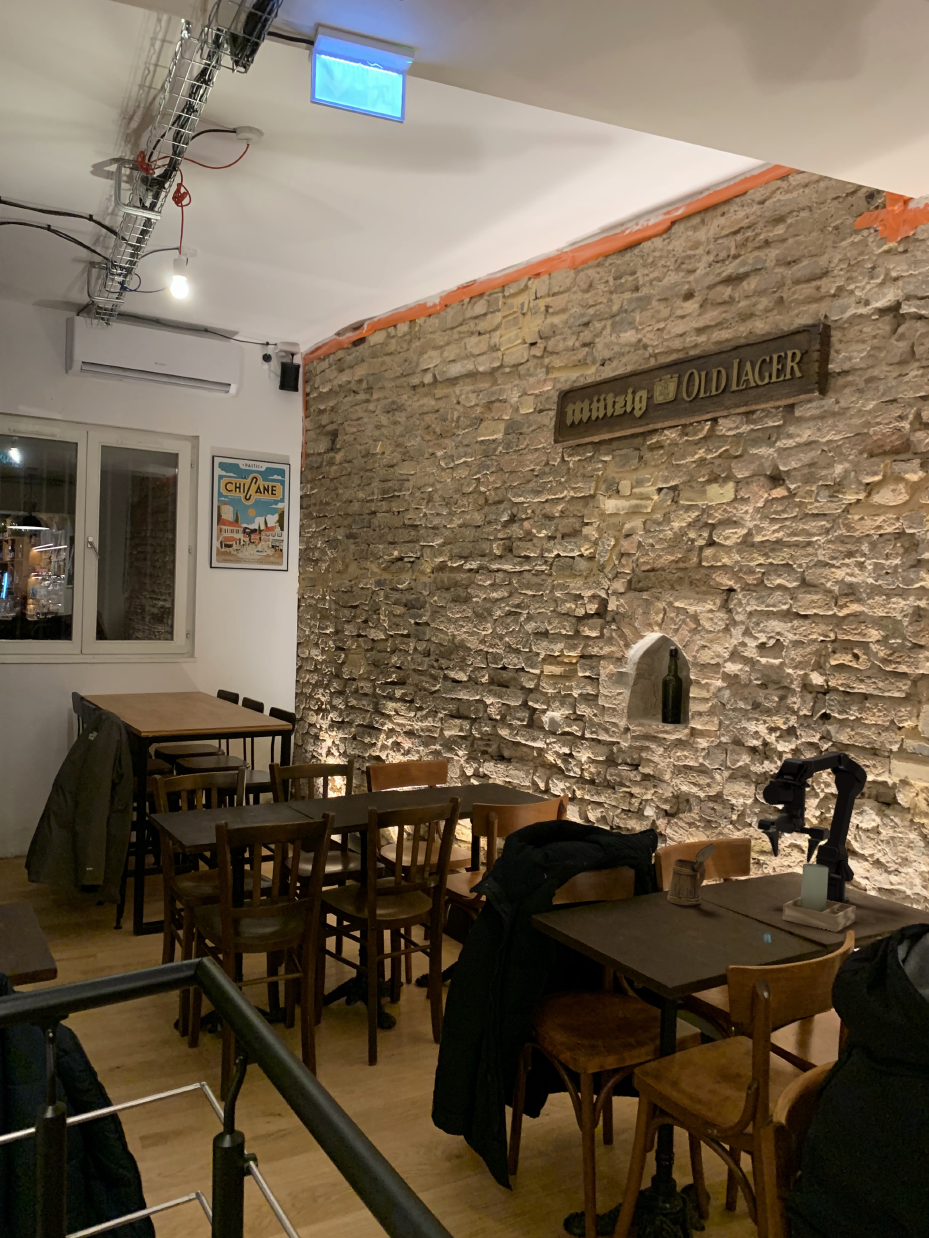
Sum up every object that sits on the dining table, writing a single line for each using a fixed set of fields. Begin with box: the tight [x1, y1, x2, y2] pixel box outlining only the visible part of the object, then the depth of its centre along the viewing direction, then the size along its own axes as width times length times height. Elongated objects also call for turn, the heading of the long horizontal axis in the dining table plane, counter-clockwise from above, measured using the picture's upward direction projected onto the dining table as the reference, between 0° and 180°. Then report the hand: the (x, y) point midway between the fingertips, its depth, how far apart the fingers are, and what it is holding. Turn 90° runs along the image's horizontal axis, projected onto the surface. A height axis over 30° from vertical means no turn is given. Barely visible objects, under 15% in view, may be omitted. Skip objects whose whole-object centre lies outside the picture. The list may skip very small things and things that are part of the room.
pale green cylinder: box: [800, 862, 828, 912], centre depth 256 cm, size 6×6×13 cm
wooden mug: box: [666, 843, 716, 907], centre depth 265 cm, size 9×14×18 cm, turn 37°
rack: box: [782, 896, 857, 933], centre depth 255 cm, size 15×14×4 cm
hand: (791, 859), depth 269 cm, fingers open, 9 cm apart
